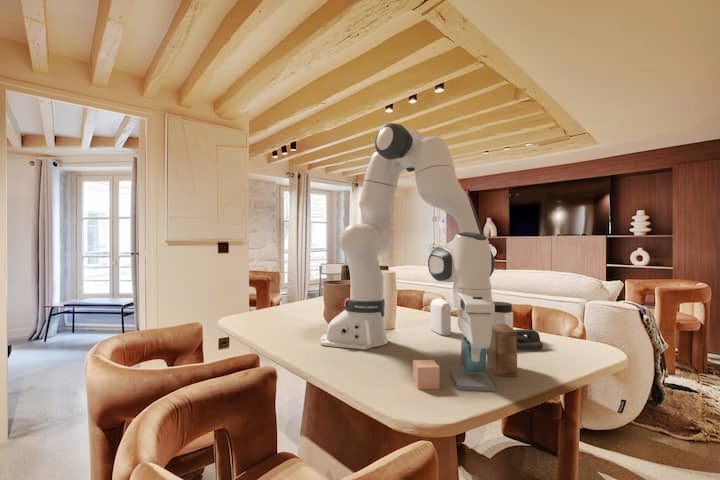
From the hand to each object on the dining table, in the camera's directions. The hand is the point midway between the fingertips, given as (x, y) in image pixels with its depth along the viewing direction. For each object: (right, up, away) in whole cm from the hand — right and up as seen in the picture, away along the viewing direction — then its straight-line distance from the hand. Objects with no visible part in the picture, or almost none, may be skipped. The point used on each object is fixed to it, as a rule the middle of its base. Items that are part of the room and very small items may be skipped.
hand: (472, 356), depth 86 cm
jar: (+22, -6, +40) cm, 46 cm away
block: (-12, -6, -3) cm, 13 cm away
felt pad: (0, -6, 0) cm, 6 cm away
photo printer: (+3, -6, +46) cm, 46 cm away
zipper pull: (+18, -6, +28) cm, 34 cm away
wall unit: (+10, -6, +7) cm, 14 cm away
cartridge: (0, -3, 0) cm, 3 cm away
